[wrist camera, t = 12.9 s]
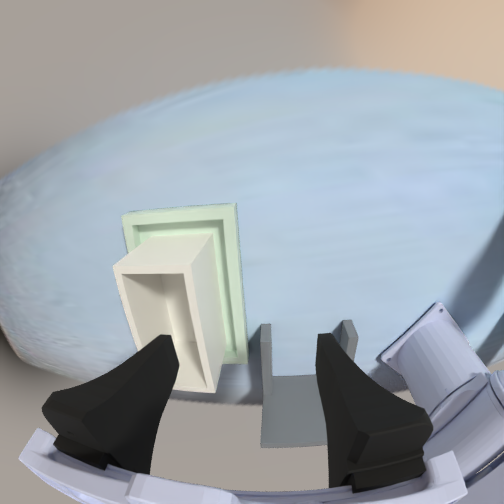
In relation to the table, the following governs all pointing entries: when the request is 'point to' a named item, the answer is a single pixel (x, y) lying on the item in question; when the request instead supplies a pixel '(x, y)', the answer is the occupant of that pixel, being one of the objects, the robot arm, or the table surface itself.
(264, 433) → the bay
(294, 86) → the table surface
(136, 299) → the box
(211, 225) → the tray
